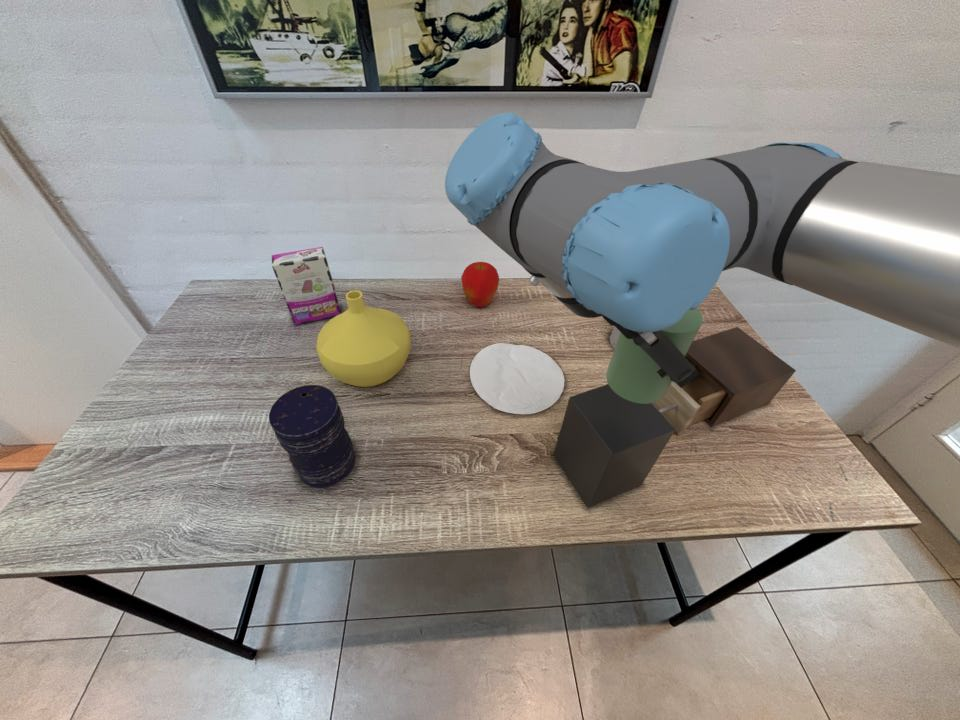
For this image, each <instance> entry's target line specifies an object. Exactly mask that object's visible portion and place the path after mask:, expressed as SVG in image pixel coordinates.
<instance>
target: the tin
mask: <svg viewBox="0 0 960 720" xmlns="http://www.w3.org/2000/svg"><path fill="white" fill-rule="evenodd" d="M703 320H704V318H703V314H702V312H701V310H700V308H698V307H697V308H696V309H694V310H688V311H687V312H686V313H685V314H684V316H683V317H682V319H681V320H680V321H679V322H678V323H677V324H675V325H673V326H671V327H668V328H666V329H663V330H662V331H663V333H664V334H665V335H666V336H667V337H668V338H669V339H670V341H671V342H672V343H673V344H674V345H675V346H676V347H677V348H678V350H679V351H680V352H681V353H682V354H683V355H684V356H685V355H686V353H687V352H688V350H689V348H690V346H691V344H692V342H693V341H695V339H696V336H697V334H698V332H699V331H700V329H701V327H702V324H703ZM624 328H625V327H624ZM660 369H661V368H660V367H659V365H658V364H657V363H656V362H655V361H654V360H653V359H652V358H651V357H650V356H649V355H648V354H647V353H646V352H645V351H644V350H643V349H642V348H641V347H640V346H638V345H636V344H635V343H634V342H633V340H632V339H627V338H626V337H625V336H624V335H623V334H622V333H621V332H620V335H619V338H618V340H617V343H616V346H615V349H614V348H613V352H612V354H611V358H610V360H609V364H608V367H607V369H606V372H605V379H606V383H607V384H608V385H609V386H610V388H611V389H612V390H613V391H614V392H615V393H616V394H617V395H619V396H620V397H622V398H624V399H626V400H628V401H631V402H635V403H640V404H649V403H654V402H657V401H659V400H660V399H662V398H663V397H664V396H665V394H666V392H667V390H668V388H669V386H670V384H671V382H672V380H671V379H670V377H669V376H668V375H667V376H665V377H664V378H662V377H661V376H660V375H659V374H658V373H657V371H658V370H660Z"/></svg>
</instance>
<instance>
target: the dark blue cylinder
mask: <svg viewBox="0 0 960 720" xmlns="http://www.w3.org/2000/svg"><path fill="white" fill-rule="evenodd" d="M268 421H269V425H270V426H271V428H272V430H273V433H274V435H275V437H276V439H277V441H278V443H279V444H280V446H281V448H282V449H283V450H284V452H285V451H286V452H287V454H288V457H289V461H290V463H291V466H292V468H293V470H294V471H295V473H296V474H297V476H298V477H299V479H300V481H301V482H302V483H303V484H304V485H306V486H307V487H309V488H313V489H318V490H319V489H321V490H322V489H328V488H329V489H330V488H331V487H335V486H336V485H339V484H341V483H342V482H344V481H345V480H346V479H347V478H348V477H349V476H350V474H351V473H352V472H353V470H354V467H355V465H356V462H357V457H356V452H355V450H354V444H353V442H352V438H351V437H350V434H349V432H348V431H347V429H346V428H345V426H346V425H345V424H346V423H345V418H344V414H343V411H342V409H341V406H340V405H339V401H338V399H337V396H336V394H335V393H334V391H332V390H331V389H330V388H328V387H326V386H322V385H319V384H307V385H301V386H298V387H294V388H292V389H289V390H288V391H286V392H285V393H283V394H281V396H279V397H278V398H277V399H276V400H275V402H274V403H273V404H272V406H271V408H270V410H269V414H268Z"/></svg>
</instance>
